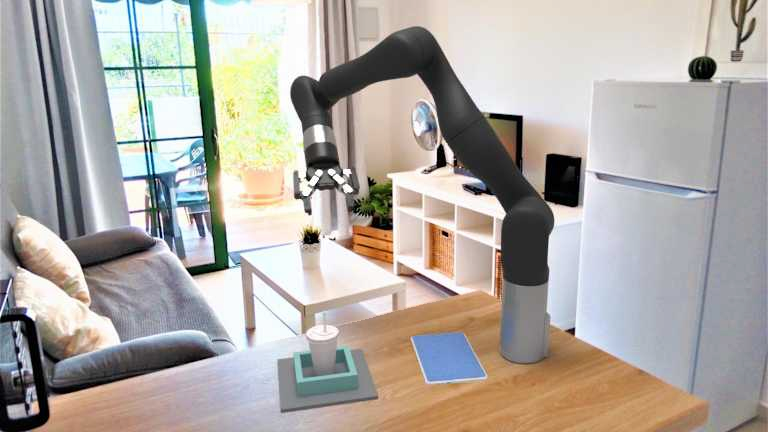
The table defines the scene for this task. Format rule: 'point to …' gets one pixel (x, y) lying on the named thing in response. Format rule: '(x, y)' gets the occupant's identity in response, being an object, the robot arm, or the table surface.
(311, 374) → the holder
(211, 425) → the table surface
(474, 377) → the tablet computer
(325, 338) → the smoothie
